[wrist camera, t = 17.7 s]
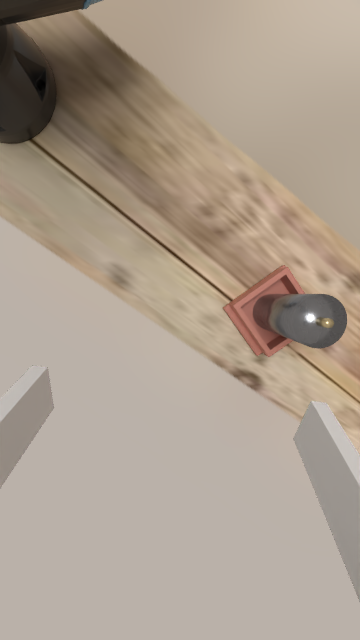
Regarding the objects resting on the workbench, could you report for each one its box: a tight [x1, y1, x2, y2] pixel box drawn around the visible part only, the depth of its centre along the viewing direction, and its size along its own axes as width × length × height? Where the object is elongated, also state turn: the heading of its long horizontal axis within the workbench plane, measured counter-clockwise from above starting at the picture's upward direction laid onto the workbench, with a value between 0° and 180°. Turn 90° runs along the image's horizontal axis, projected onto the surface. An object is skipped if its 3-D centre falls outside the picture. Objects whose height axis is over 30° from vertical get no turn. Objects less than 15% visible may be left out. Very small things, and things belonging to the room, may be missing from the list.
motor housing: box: [253, 294, 347, 348], centre depth 34 cm, size 6×6×16 cm
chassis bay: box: [223, 265, 305, 357], centre depth 40 cm, size 10×12×4 cm
